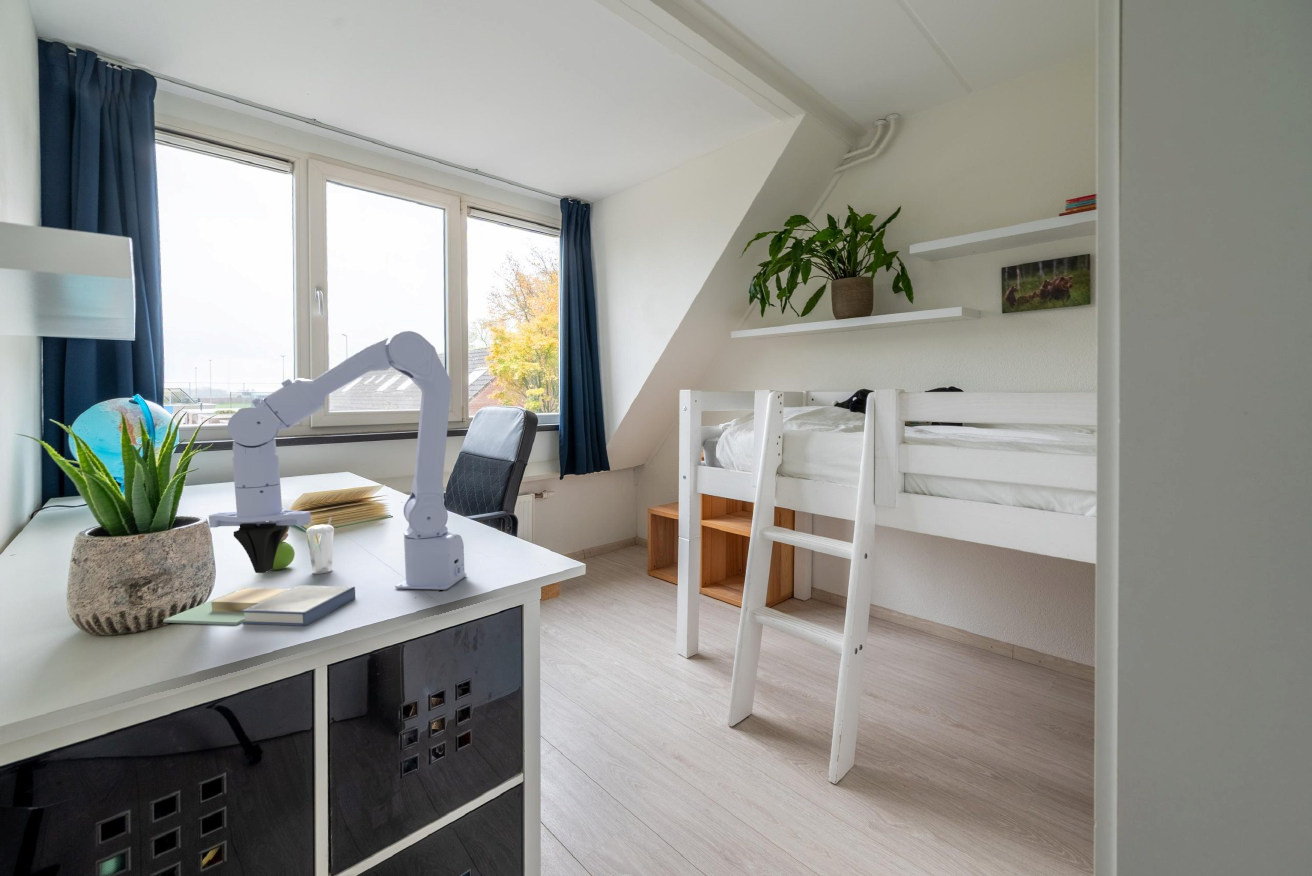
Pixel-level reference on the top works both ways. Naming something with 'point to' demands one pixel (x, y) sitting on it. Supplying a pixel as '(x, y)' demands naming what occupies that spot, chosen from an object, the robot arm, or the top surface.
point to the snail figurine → (283, 553)
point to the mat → (207, 616)
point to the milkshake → (321, 547)
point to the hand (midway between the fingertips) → (264, 571)
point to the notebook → (299, 605)
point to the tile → (243, 599)
